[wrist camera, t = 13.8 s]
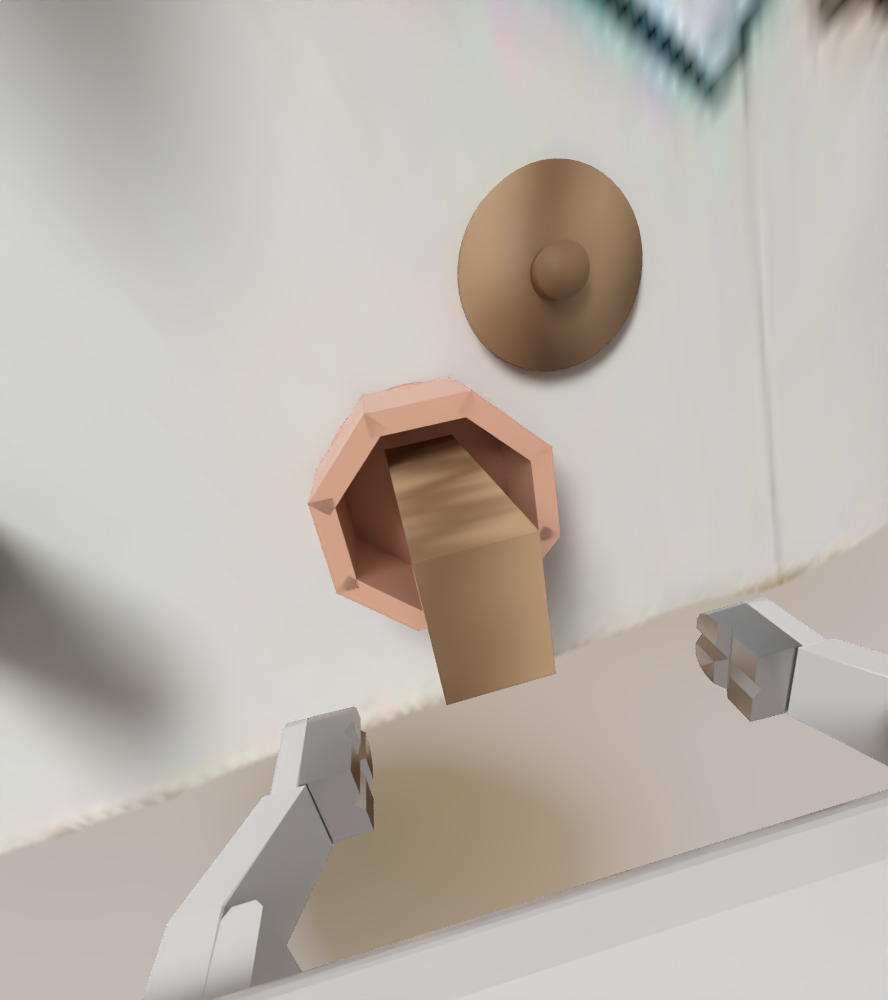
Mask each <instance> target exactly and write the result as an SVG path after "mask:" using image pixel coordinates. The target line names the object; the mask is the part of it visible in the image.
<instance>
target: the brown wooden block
mask: <svg viewBox="0 0 888 1000" xmlns="http://www.w3.org/2000/svg"><path fill="white" fill-rule="evenodd" d="M385 455H386V459H387V463H388V467H389V471H390V475H391V479H392V483H393V487H394V492H395V496H396V500H397V504H398V508H399V512H400V516H401V520H402V524H403V529H404V533H405V537H406V541H407V545H408V549H409V553H410V557H411V561H412V565H413V569H414V574H415V578H416V582H417V586H418V590H419V594H420V598H421V602H422V606H423V610H424V614H425V619H426V623H427V627H428V631H429V635H430V639H431V643H432V647H433V651H434V655H435V659H436V664H437V668H438V672H439V676H440V680H441V684H442V688H443V692H444V696H445V700H446V704H447V705H449V704H452V703H456V702H459V701H463V700H466V699H469V698H473V697H477V696H480V695H483V694H487V693H490V692H494V691H497V690H501V689H504V688H508V687H511V686H514V685H518V684H521V683H525V682H528V681H531V680H535V679H538V678H542V677H546V676H549V675H552V674H556V671H555V663H554V654H553V645H552V637H551V628H550V620H549V611H548V603H547V594H546V585H545V577H544V568H543V560H542V551H541V543H540V534H539V530H538V529H537V528H536V527H535V526H534V525H533V524H532V523H531V522H530V521H529V519H528V518H527V517H526V516H525V515H524V514H523V513H522V512H521V511H520V509H519V508H518V507H517V506H516V505H515V504H514V503H513V502H512V501H511V499H510V498H509V497H508V496H507V495H506V494H505V493H504V492H503V491H502V490H501V488H500V487H499V486H498V485H497V484H496V483H495V482H494V481H493V480H492V478H491V477H490V476H489V475H488V474H487V473H486V472H485V471H484V470H483V468H482V467H481V466H480V465H479V464H478V463H477V462H476V461H475V460H474V459H473V457H472V456H471V455H470V454H469V453H468V452H467V451H466V450H465V449H464V447H463V446H462V445H461V444H460V443H459V442H458V441H457V440H456V439H455V437H454V436H453V435H447V436H443V437H439V438H434V439H430V440H426V441H421V442H417V443H412V444H408V445H404V446H399V447H395V448H391V449H386V450H385Z"/></svg>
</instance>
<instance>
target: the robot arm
mask: <svg viewBox="0 0 888 1000" xmlns="http://www.w3.org/2000/svg"><path fill="white" fill-rule="evenodd" d="M697 629H698V630H699V631H700V632H701V633H702V635H701V636H700V638H699V639H698V640H697V642H696V656H697V659H698V662H699V664H700V666H701V668H702V670H703V671H704V673H705V674H706V676H707V677H708V678H709V679H710V680H711V681H712V682H713V683H714V684H717V685H719V686H721V687H724V688H727V696H728V699H729V700H730V701H731V702H732V703H733V704H734V705H735V706H736V707H737V708H738V709H739V710H740V711H741V712H742V713H743V715H744V716H745V717H746V718H747V719H748V720H749V721H750V722H751V721H755V720H759V719H763V718H766V717H771V716H775V715H778V714H782V713H786V712H788V713H787V714H788V715H790V716H792V717H793V718H795V719H797V720H799V721H801V722H803V723H805V724H807V725H809V726H811V727H813V728H815V729H817V730H819V731H821V732H823V733H825V734H827V735H829V736H830V737H832V738H835V739H836V740H838V741H840V742H842V743H844V744H846V745H848V746H850V747H852V748H854V749H856V750H858V751H859V752H861V753H863V754H865V755H867V756H869V757H871V758H873V759H875V760H877V761H879V762H881V763H883V764H885V765H887V766H888V654H885V653H882V652H879V651H875V650H872V649H868V648H865V647H862V646H858V645H854V644H851V643H848V642H845V641H841V640H837V639H834V638H831V639H827V640H826V639H825V638H823V637H822V636H820V635H819V634H817V633H816V632H815V631H813V630H812V629H810V628H809V627H807V626H806V625H805V624H803V623H802V622H800V621H799V620H797V619H796V618H794V617H793V616H792V615H790V614H789V613H787V612H786V611H784V610H783V609H782V608H780V607H779V606H777V605H776V604H774V603H773V602H771V601H770V600H769V599H766V598H763V597H759V598H755V599H752V600H748V601H744V602H741V603H739V604H734V605H730V606H726V607H723V608H719V609H716V610H712V611H708V612H705V613H701V614H700V615H699V617H698V618H697ZM372 780H373V765H372V758H371V751H370V746H369V742H368V739H367V736H366V733H365V732H363V731H361V728H360V716H359V713H358V711H357V708H356V707H351V708H346V709H342V710H338V711H334V712H330V713H326V714H321V715H317V716H313V717H310V718H307V719H303V720H299V721H294V722H290V723H287V724H286V726H285V728H284V729H283V733H282V738H281V743H280V748H279V753H278V758H277V764H276V769H275V774H274V779H273V784H272V789H271V794H270V795H268V796H264V797H263V798H262V799H261V800H260V802H259V803H258V804H257V806H256V807H255V808H254V810H253V811H252V812H251V814H250V815H249V816H248V818H247V819H246V820H245V822H244V823H243V824H242V825H241V827H240V828H239V829H238V831H237V832H236V834H235V835H234V836H233V837H232V839H231V840H230V841H229V843H228V844H227V845H226V847H225V848H224V849H223V851H222V852H221V853H220V854H219V856H218V857H217V858H216V860H215V861H214V862H213V864H212V865H211V866H210V868H209V869H208V870H207V872H206V873H205V874H204V876H203V877H202V878H201V880H200V881H199V882H198V884H197V885H196V886H195V887H194V889H193V890H192V891H191V893H190V894H189V895H188V897H187V898H186V899H185V901H184V902H183V903H182V905H181V906H180V907H179V909H178V910H177V911H176V912H175V914H174V915H173V917H172V918H171V919H170V920H169V922H168V923H167V926H166V929H165V932H164V935H163V938H162V942H161V945H160V948H159V951H158V954H157V957H156V960H155V963H154V966H153V969H152V973H151V975H150V979H149V982H148V985H147V988H146V991H145V994H144V997H143V1000H888V790H885V791H881V792H878V793H875V794H872V795H868V796H865V797H862V798H859V799H855V800H853V801H849V802H846V803H843V804H839V805H836V806H833V807H830V808H827V809H823V810H820V811H817V812H814V813H810V814H807V815H804V816H801V817H798V818H794V819H791V820H788V821H785V822H782V823H779V824H775V825H772V826H769V827H765V828H762V829H759V830H756V831H753V832H749V833H746V834H743V835H740V836H737V837H733V838H730V839H727V840H724V841H720V842H717V843H714V844H711V845H708V846H704V847H702V848H698V849H695V850H692V851H688V852H685V853H682V854H679V855H675V856H673V857H669V858H666V859H663V860H659V861H656V862H653V863H650V864H647V865H643V866H641V867H637V868H634V869H631V870H627V871H625V872H621V873H618V874H615V875H611V876H609V877H605V878H602V879H599V880H595V881H592V882H589V883H586V884H583V885H580V886H577V887H573V888H570V889H567V890H564V891H560V892H557V893H554V894H551V895H548V896H544V897H541V898H538V899H535V900H531V901H528V902H525V903H522V904H519V905H515V906H512V907H509V908H506V909H503V910H499V911H496V912H493V913H490V914H487V915H483V916H480V917H477V918H473V919H470V920H467V921H464V922H461V923H457V924H454V925H451V926H448V927H445V928H441V929H438V930H435V931H432V932H429V933H425V934H422V935H419V936H416V937H412V938H409V939H406V940H403V941H400V942H396V943H393V944H390V945H387V946H383V947H380V948H377V949H374V950H371V951H367V952H364V953H361V954H358V955H354V956H351V957H348V958H345V959H342V960H338V961H336V962H332V963H329V964H325V965H322V966H319V967H316V968H313V969H309V970H306V971H303V972H302V970H301V969H300V967H299V965H298V964H297V962H296V961H295V959H294V957H293V955H292V954H291V952H290V950H289V949H288V947H287V943H288V941H289V939H290V937H291V935H292V933H293V931H294V929H295V927H296V924H297V922H298V920H299V918H300V916H301V914H302V912H303V910H304V908H305V905H306V903H307V901H308V899H309V897H310V895H311V893H312V891H313V889H314V887H315V885H316V882H317V880H318V878H319V876H320V874H321V872H322V870H323V868H324V866H325V863H326V861H327V860H328V857H329V855H330V853H331V851H332V849H333V845H332V844H335V843H338V842H341V841H344V840H347V839H350V838H353V837H357V836H360V835H363V834H366V833H369V832H372V831H374V803H373V802H374V801H373V800H374V799H373V796H372V793H371V791H370V788H369V785H370V783H371V781H372Z"/></svg>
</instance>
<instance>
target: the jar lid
mask: <svg viewBox="0 0 888 1000" xmlns="http://www.w3.org/2000/svg"><path fill="white" fill-rule="evenodd" d="M641 271H642V244H641V237H640V232H639V227H638V224H637V221H636V218H635V215H634V212H633V210H632V208H631V206H630V204H629V202H628V200H627V199H626V197H625V196H624V194H623V193H622V191H621V190H620V189H619V188H618V187H617V186H616V184H615V183H614V182H613V181H612V180H611V179H609V178H608V177H607V176H606V175H605V174H603V173H602V172H600V171H599V170H597V169H595V168H594V167H592V166H590V165H587V164H585V163H582V162H579V161H574V160H570V159H547V160H541V161H538V162H534V163H531V164H528V165H526V166H524V167H522V168H520V169H518V170H516V171H514V172H513V173H511V174H510V175H508V176H507V177H506V178H504V179H503V180H502V181H501V182H500V183H499V184H498V185H497V186H495V187H494V188H493V189H492V190H491V191H490V192H489V194H488V195H487V196H486V197H485V198H484V199H483V201H482V202H481V203H480V205H479V206H478V208H477V209H476V211H475V212H474V214H473V216H472V218H471V220H470V222H469V224H468V226H467V228H466V231H465V234H464V237H463V239H462V244H461V248H460V252H459V260H458V288H459V295H460V299H461V303H462V308H463V310H464V313H465V316H466V318H467V320H468V322H469V324H470V326H471V328H472V330H473V331H474V333H475V334H476V336H477V337H478V339H479V340H480V341H481V342H482V343H483V344H484V345H485V346H486V348H487V349H489V350H490V351H491V352H492V353H493V354H495V355H496V356H497V357H499V358H501V359H502V360H504V361H506V362H508V363H510V364H513V365H515V366H519V367H522V368H526V369H530V370H538V371H555V370H560V369H565V368H568V367H572V366H575V365H577V364H579V363H581V362H583V361H585V360H587V359H589V358H590V357H592V356H593V355H595V354H596V353H597V352H599V351H600V350H601V349H602V348H604V347H605V346H606V345H607V344H608V343H609V342H610V341H611V339H612V338H613V337H614V336H615V335H616V333H617V332H618V331H619V330H620V328H621V327H622V325H623V323H624V322H625V320H626V318H627V317H628V315H629V313H630V310H631V308H632V306H633V304H634V301H635V298H636V295H637V292H638V288H639V283H640V279H641Z"/></svg>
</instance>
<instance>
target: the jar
mask: <svg viewBox="0 0 888 1000" xmlns="http://www.w3.org/2000/svg"><path fill="white" fill-rule="evenodd" d="M447 435H453V436H454V437H455V439H456V440H457V441H458V442H459V443H460V444H461V445H462V446H463V447H464V449H465V450H466V451H467V452H468V453H469V454H470V455H471V456H472V457H473V459H474V460H475V461H476V462H477V463H478V464H479V465H480V466H481V467H482V468H483V470H484V471H485V472H486V473H487V474H488V475H489V476H490V477H491V478H492V480H493V481H494V482H495V483H496V484H497V485H498V486H499V487H500V488H501V490H502V491H503V492H504V493H505V494H506V495H507V496H508V497H509V498H510V499H511V501H512V502H513V503H514V504H515V505H516V506H517V507H518V508H519V509H520V511H521V512H522V513H523V514H524V515H525V516H526V517H527V518H528V519H529V521H530V522H531V523H532V524H533V525H534V526H535V527H536V528H537V529H538V530H539V534H540V543H541V551H542V559H543V558H544V557H545V556H546V554H547V553H548V552H549V550H550V549H551V548H552V546H553V545H554V544H555V543H556V541H557V540H558V539H559V537H560V536H561V535H560V526H559V515H558V505H557V494H556V484H555V473H554V463H553V452H552V446H551V445H549V444H547V443H546V442H544V441H543V440H542V439H540V438H539V437H537V436H536V435H535V434H533V433H532V432H530V431H529V430H527V429H526V428H525V427H523V426H522V425H520V424H519V423H518V422H516V421H515V420H513V419H512V418H510V417H509V416H508V415H506V414H505V413H503V412H502V411H501V410H499V409H498V408H496V407H495V406H493V405H492V404H491V403H489V402H488V401H486V400H485V399H484V398H482V397H481V396H479V395H478V394H477V393H475V392H474V391H473V390H471V389H469V388H468V387H466V386H464V385H462V384H460V383H458V382H456V381H455V380H453V379H451V378H449V377H448V378H443V379H439V380H434V381H429V382H417V383H410V384H404V385H400V386H397V387H393V388H390V389H388V390H386V391H382V392H378V393H373V394H368V395H364V396H362V397H361V398H360V400H359V401H358V403H357V405H356V406H355V408H354V410H353V411H352V413H351V415H350V416H349V417H348V418H347V419H346V421H345V422H344V424H343V425H342V426H341V428H340V429H339V431H338V433H337V434H336V436H335V438H334V440H333V442H332V445H331V447H330V449H329V450H328V452H327V454H326V455H325V457H324V459H323V460H322V462H321V463H320V465H319V467H318V468H317V470H316V474H315V478H314V482H313V486H312V490H311V493H310V497H309V501H308V506H309V509H310V512H311V515H312V518H313V521H314V524H315V527H316V530H317V534H318V537H319V540H320V543H321V546H322V549H323V552H324V555H325V558H326V562H327V565H328V568H329V571H330V574H331V577H332V580H333V583H334V586H335V589H336V593H337V594H339V595H342V596H344V597H346V598H348V599H350V600H352V601H355V602H357V603H359V604H361V605H363V606H365V607H368V608H370V609H372V610H374V611H376V612H379V613H381V614H383V615H385V616H387V617H389V618H392V619H394V620H396V621H398V622H400V623H403V624H405V625H407V626H409V627H411V628H413V629H416V630H418V631H419V630H423V629H427V628H428V627H427V623H426V619H425V614H424V610H423V606H422V602H421V598H420V594H419V590H418V586H417V582H416V578H415V574H414V569H413V565H412V561H411V557H410V553H409V549H408V545H407V541H406V537H405V533H404V529H403V524H402V520H401V516H400V512H399V508H398V504H397V500H396V496H395V492H394V487H393V483H392V479H391V475H390V471H389V467H388V463H387V459H386V455H385V450H386V449H391V448H395V447H399V446H404V445H408V444H412V443H417V442H421V441H426V440H430V439H434V438H439V437H443V436H447Z"/></svg>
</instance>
